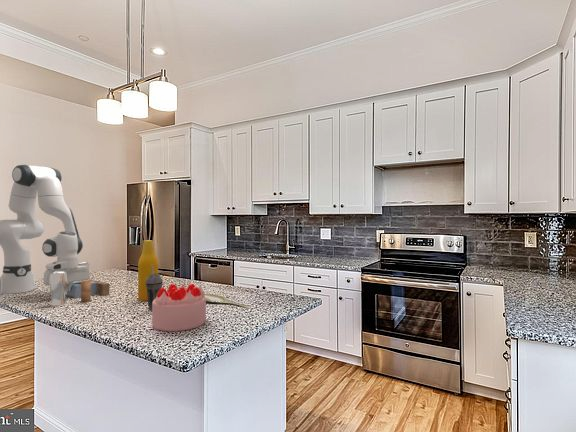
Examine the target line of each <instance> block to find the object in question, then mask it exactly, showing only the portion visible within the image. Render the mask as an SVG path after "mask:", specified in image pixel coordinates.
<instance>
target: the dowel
mask: <svg viewBox="0 0 576 432" xmlns="http://www.w3.org/2000/svg"><path fill="white" fill-rule="evenodd" d="M91 280H92V279H88V280H83V281H80V282H81V297H80V303H88V302H89V303H90V302H91V301H92V298H91V297H92V295H91Z"/></svg>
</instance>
